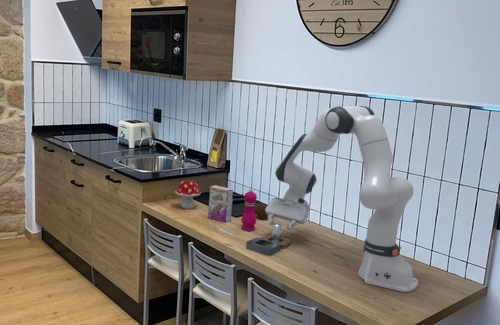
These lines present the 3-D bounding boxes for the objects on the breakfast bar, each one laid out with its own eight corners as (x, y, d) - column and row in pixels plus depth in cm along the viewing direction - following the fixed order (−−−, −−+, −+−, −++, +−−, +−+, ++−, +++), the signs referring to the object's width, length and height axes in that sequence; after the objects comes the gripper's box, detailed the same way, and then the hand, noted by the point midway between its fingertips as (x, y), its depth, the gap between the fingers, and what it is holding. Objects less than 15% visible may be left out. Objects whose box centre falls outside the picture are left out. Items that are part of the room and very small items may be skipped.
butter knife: (221, 228, 243) (216, 229, 241) (254, 243, 225) (249, 244, 223) (221, 229, 243) (216, 230, 241) (254, 244, 225) (249, 245, 223)
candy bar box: (207, 218, 257) (209, 186, 254) (213, 216, 261) (215, 184, 258) (225, 223, 251) (227, 190, 248) (231, 220, 255) (233, 189, 252)
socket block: (280, 250, 219) (280, 243, 218) (269, 255, 212) (270, 249, 212) (256, 243, 226) (257, 237, 225) (246, 248, 219) (246, 241, 218)
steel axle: (281, 243, 228) (283, 224, 226) (276, 246, 224) (278, 226, 223) (273, 241, 230) (275, 222, 228) (269, 243, 226) (270, 224, 225)
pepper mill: (254, 232, 240) (257, 191, 236) (239, 230, 241) (241, 189, 237) (257, 228, 247) (260, 187, 243) (242, 226, 248) (245, 186, 244)
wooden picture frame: (291, 244, 227) (292, 240, 227) (282, 249, 220) (282, 245, 220) (269, 238, 234) (269, 234, 233) (258, 242, 227) (259, 238, 226)
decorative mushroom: (205, 206, 277) (206, 179, 274) (191, 212, 264) (193, 184, 261) (182, 202, 282) (184, 175, 279) (169, 207, 270) (170, 180, 267)
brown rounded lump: (263, 221, 258) (264, 206, 256) (249, 216, 264) (250, 201, 263) (272, 219, 263) (273, 204, 262) (258, 214, 270) (259, 199, 268)
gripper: (270, 193, 237) (257, 217, 231) (309, 202, 226) (296, 228, 220) (275, 200, 242) (262, 224, 235) (313, 209, 230) (301, 235, 224)
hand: (279, 226), depth 228 cm, fingers open, 8 cm apart
